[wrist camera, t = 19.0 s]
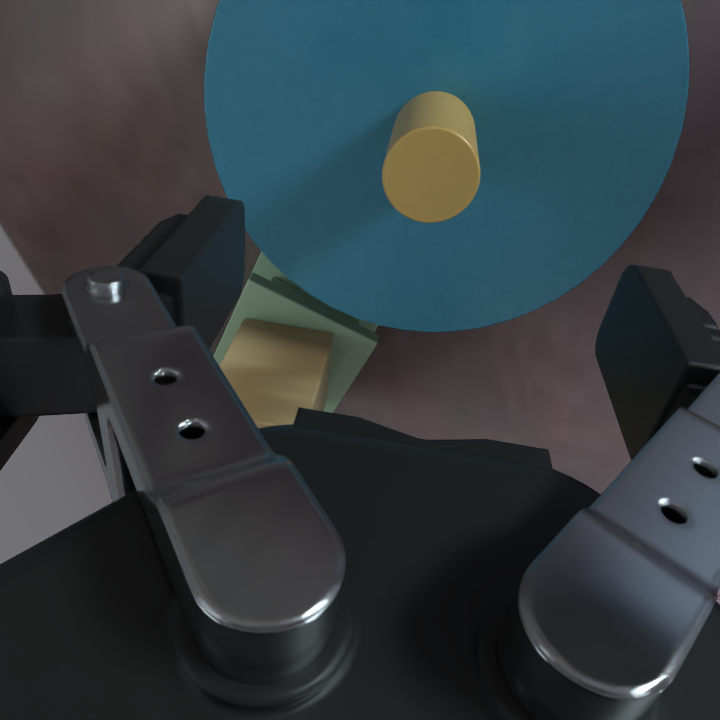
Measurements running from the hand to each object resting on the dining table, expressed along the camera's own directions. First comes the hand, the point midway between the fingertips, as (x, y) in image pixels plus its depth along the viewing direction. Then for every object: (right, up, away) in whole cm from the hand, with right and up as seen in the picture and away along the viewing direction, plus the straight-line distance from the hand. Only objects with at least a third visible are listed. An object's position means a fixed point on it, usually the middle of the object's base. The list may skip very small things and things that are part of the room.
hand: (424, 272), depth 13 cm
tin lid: (+1, +6, +9) cm, 11 cm away
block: (-5, -2, +18) cm, 18 cm away
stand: (-5, 0, +20) cm, 21 cm away
